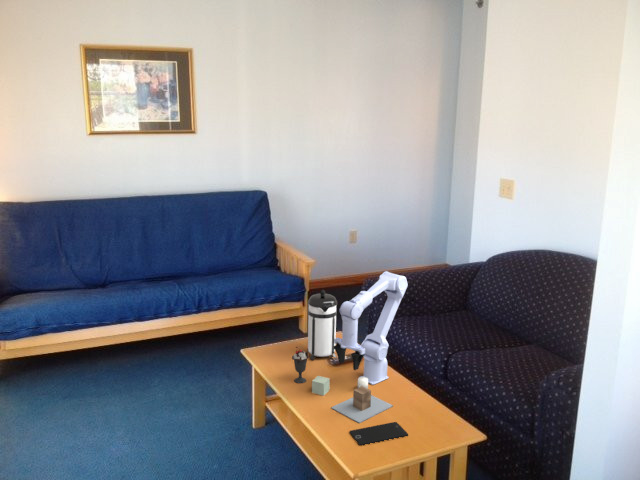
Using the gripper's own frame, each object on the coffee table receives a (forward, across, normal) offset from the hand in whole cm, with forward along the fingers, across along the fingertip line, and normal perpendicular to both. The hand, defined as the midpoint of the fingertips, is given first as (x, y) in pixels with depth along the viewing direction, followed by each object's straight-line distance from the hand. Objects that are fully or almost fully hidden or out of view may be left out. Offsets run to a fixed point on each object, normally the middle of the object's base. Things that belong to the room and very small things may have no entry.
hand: (348, 366), depth 226 cm
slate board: (+10, +13, -6) cm, 17 cm away
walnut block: (+10, +13, -6) cm, 17 cm away
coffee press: (+10, -32, +15) cm, 37 cm away
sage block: (+10, -6, -9) cm, 15 cm away
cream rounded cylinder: (+10, +3, +5) cm, 12 cm away
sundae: (+10, -18, -9) cm, 22 cm away
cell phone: (+11, +29, -15) cm, 34 cm away
